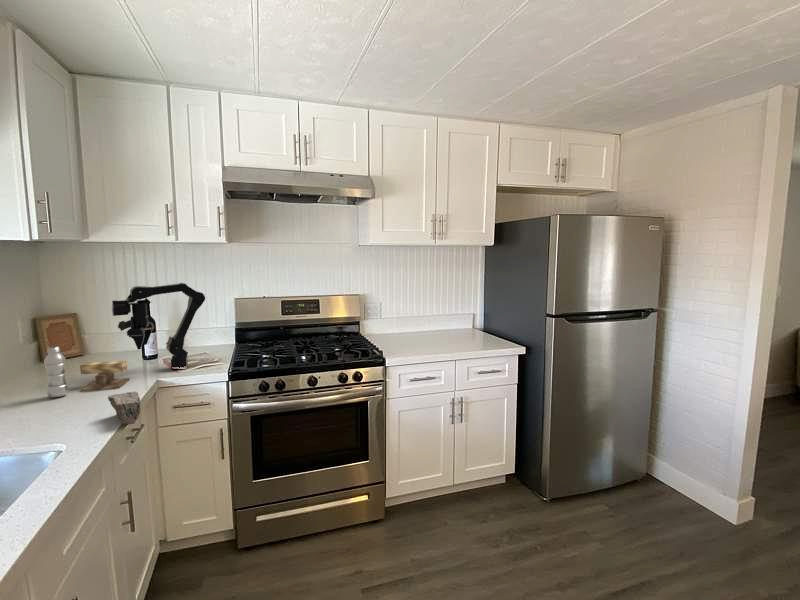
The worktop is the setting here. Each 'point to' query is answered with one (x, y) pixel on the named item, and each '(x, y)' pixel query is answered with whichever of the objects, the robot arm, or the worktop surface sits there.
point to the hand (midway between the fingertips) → (142, 346)
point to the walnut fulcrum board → (110, 386)
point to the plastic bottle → (55, 373)
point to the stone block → (126, 406)
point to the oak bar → (103, 367)
